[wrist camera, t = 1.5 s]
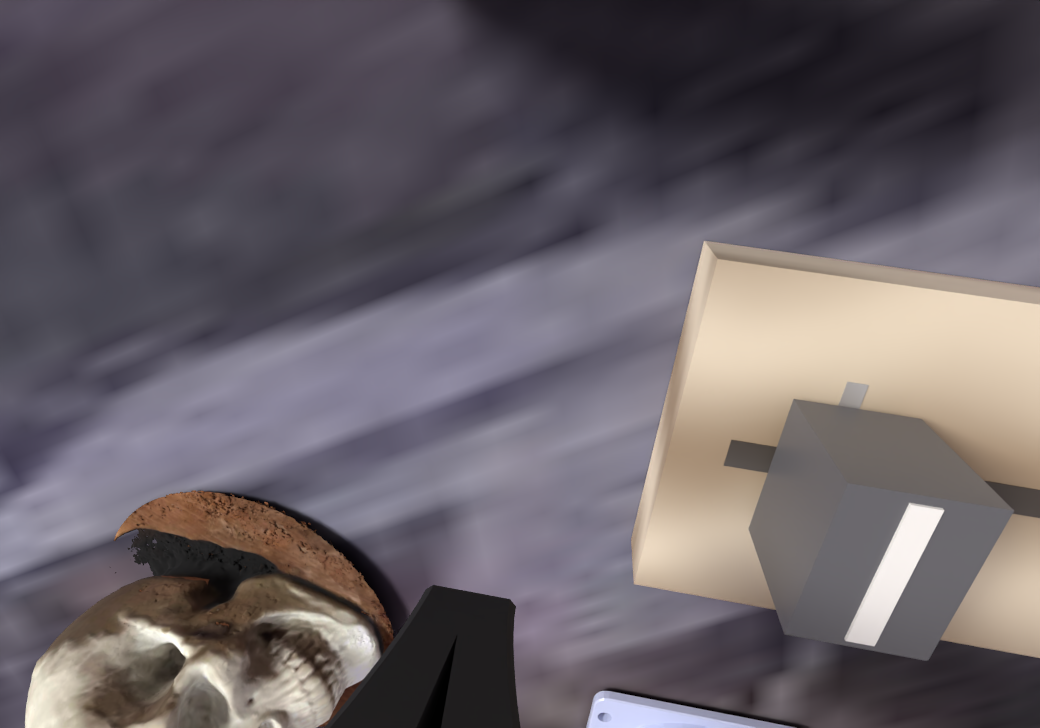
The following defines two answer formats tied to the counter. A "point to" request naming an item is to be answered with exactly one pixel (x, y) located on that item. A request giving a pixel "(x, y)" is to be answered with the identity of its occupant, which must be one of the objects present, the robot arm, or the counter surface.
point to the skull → (216, 627)
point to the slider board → (849, 383)
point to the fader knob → (871, 529)
